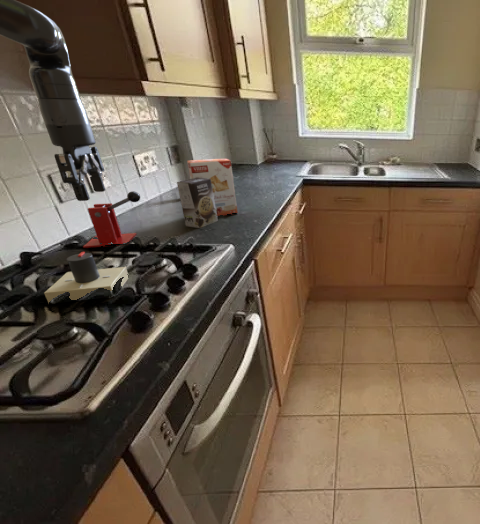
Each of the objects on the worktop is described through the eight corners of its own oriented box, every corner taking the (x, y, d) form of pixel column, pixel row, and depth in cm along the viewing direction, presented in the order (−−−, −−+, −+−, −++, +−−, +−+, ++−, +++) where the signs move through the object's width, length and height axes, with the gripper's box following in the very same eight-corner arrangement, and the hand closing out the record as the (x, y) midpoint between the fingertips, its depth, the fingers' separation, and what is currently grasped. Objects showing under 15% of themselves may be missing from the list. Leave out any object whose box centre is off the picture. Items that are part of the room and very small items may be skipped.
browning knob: (95, 281, 74) (87, 258, 72) (71, 284, 73) (62, 260, 70) (102, 273, 78) (94, 250, 76) (80, 275, 77) (71, 252, 74)
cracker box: (200, 219, 124) (189, 162, 115) (197, 215, 128) (186, 159, 119) (238, 214, 132) (230, 159, 123) (234, 210, 136) (226, 157, 127)
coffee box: (200, 230, 114) (190, 183, 107) (185, 227, 116) (175, 181, 109) (219, 222, 122) (211, 178, 115) (205, 220, 124) (196, 176, 117)
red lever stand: (137, 236, 107) (126, 201, 102) (128, 247, 99) (116, 209, 94) (97, 239, 104) (84, 202, 99) (84, 250, 96) (69, 211, 91)
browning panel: (49, 305, 71) (43, 292, 69) (71, 283, 79) (66, 271, 78) (114, 297, 74) (110, 285, 73) (129, 277, 83) (125, 266, 81)
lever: (144, 197, 101) (136, 188, 99) (141, 200, 98) (133, 190, 96) (103, 216, 100) (95, 207, 98) (99, 220, 97) (90, 210, 95)
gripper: (64, 120, 77) (87, 189, 84) (25, 123, 65) (57, 204, 72) (101, 120, 79) (121, 188, 86) (71, 124, 67) (97, 203, 73)
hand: (92, 195), depth 79 cm, fingers open, 8 cm apart
